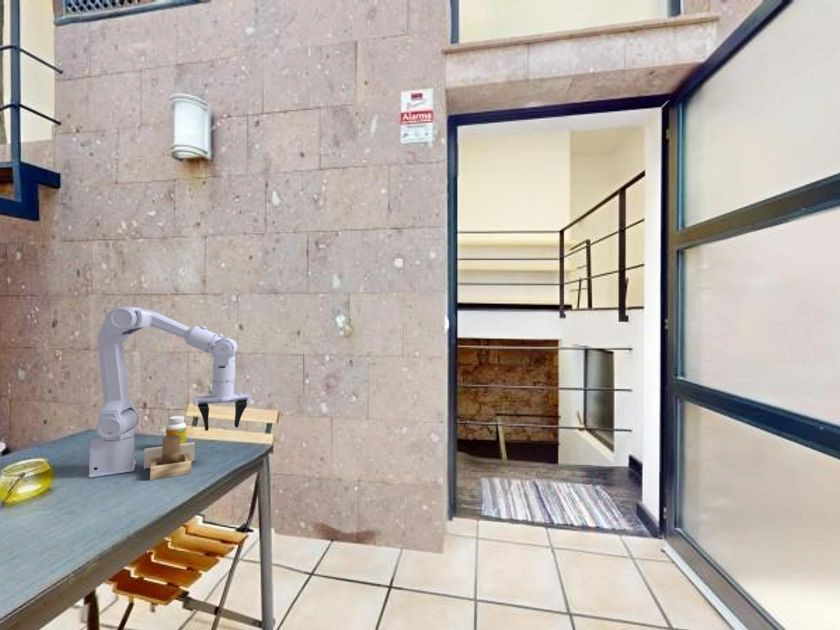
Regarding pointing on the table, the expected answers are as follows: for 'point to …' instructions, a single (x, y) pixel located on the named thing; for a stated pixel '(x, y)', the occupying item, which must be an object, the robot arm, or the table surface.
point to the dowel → (170, 449)
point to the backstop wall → (158, 452)
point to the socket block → (170, 467)
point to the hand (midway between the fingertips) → (221, 428)
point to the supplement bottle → (177, 428)
